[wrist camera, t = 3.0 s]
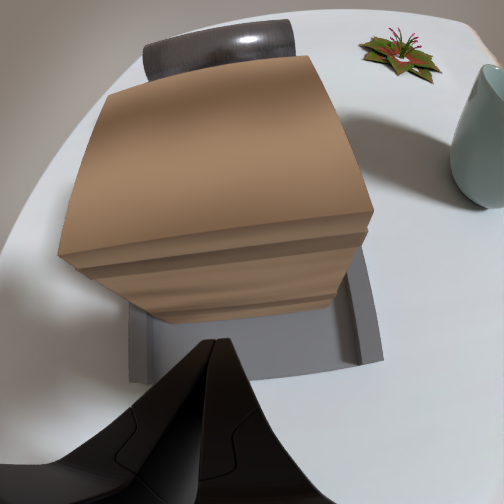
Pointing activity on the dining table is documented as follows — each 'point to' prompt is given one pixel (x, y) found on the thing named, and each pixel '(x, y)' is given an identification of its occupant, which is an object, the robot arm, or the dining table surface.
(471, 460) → the dining table surface
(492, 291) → the dining table surface
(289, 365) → the bay
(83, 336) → the dining table surface
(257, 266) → the brown wooden block
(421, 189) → the dining table surface
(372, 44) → the lily flower
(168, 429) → the robot arm
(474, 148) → the cup
